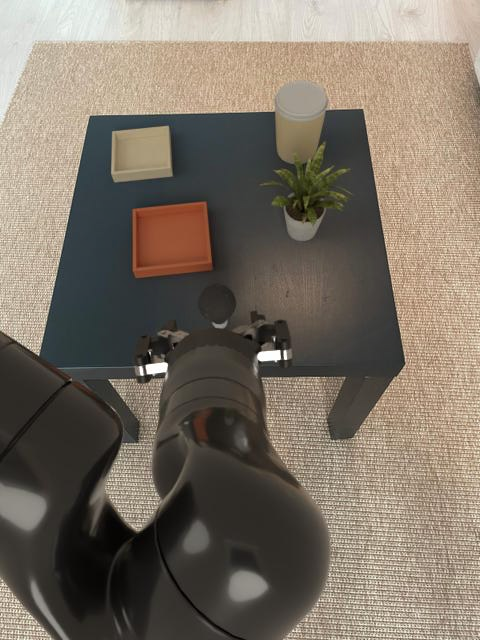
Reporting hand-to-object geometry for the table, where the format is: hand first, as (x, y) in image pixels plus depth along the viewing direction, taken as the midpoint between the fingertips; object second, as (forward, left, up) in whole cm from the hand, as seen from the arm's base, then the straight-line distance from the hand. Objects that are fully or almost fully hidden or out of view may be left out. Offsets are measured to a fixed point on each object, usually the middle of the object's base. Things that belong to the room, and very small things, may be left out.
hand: (214, 324), depth 51 cm
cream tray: (-12, +50, -24) cm, 56 cm away
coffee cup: (+18, +48, -24) cm, 56 cm away
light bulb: (0, +12, -24) cm, 27 cm away
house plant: (+15, +28, -24) cm, 40 cm away
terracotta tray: (-7, +29, -24) cm, 38 cm away
